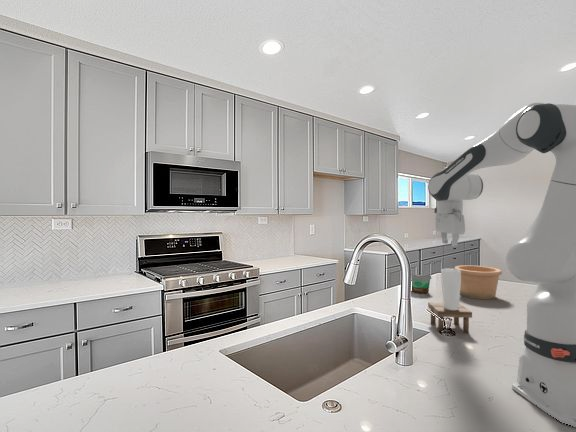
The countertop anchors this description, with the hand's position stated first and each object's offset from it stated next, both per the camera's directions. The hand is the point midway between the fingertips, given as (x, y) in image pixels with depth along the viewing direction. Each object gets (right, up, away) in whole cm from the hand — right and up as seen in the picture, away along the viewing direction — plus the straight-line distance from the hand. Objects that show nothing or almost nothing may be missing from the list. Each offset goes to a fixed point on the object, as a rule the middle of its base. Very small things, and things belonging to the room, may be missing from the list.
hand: (449, 244), depth 129 cm
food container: (+10, -31, +54) cm, 63 cm away
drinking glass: (0, -25, -2) cm, 25 cm away
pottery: (+38, -32, +49) cm, 70 cm away
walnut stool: (0, -32, +1) cm, 32 cm away
